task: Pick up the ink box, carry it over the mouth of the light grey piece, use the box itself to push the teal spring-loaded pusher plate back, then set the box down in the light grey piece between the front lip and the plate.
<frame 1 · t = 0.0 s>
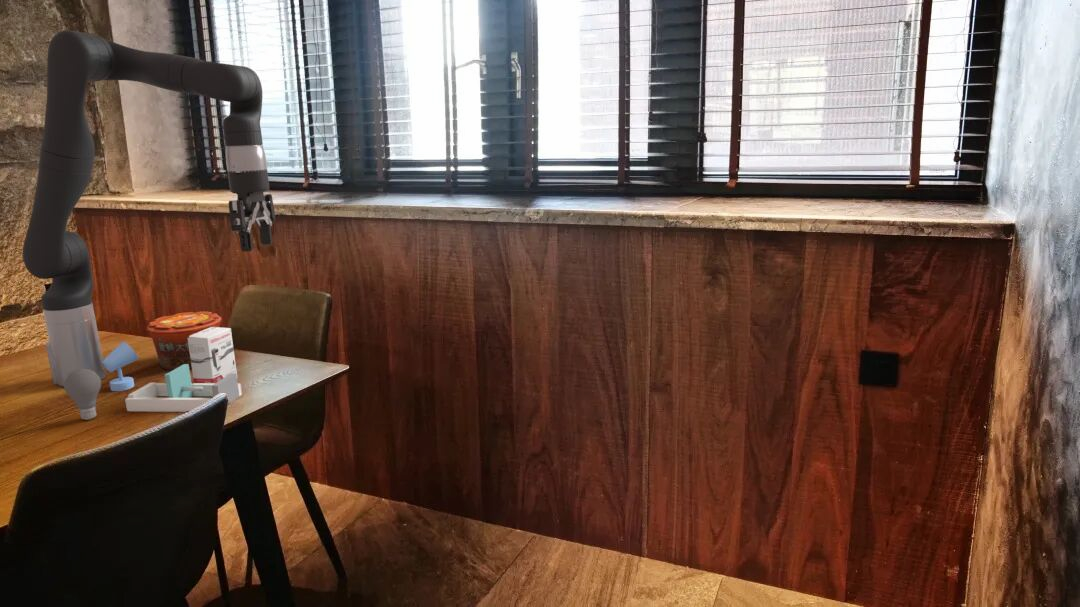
hand: (257, 247, 152), 29 cm above the table, fingers open, 8 cm apart
food container: (191, 363, 174), on the table
light bulb: (89, 419, 141), on the table
pusher: (189, 385, 146), point 4 cm above the table, slide at 0.0 cm
ink box: (217, 385, 158), on the table
light grey piece: (185, 402, 147), on the table
spotlight: (125, 387, 158), on the table
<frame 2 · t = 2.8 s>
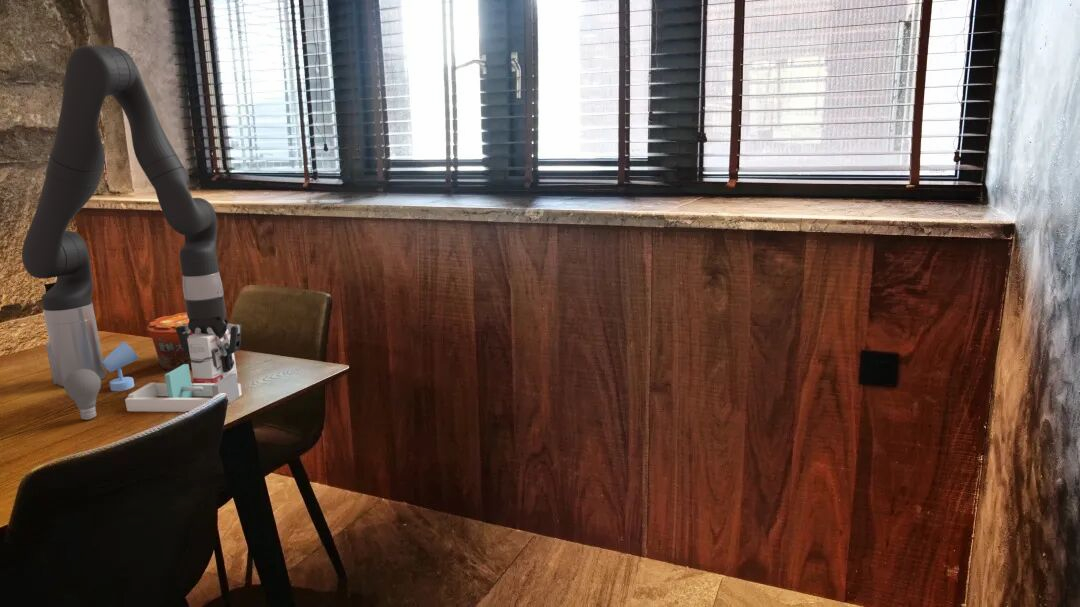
hand: (215, 370, 157), 3 cm above the table, fingers closed on ink box, 5 cm apart
ink box: (217, 384, 158), on the table, touching gripper
everything else where it was.
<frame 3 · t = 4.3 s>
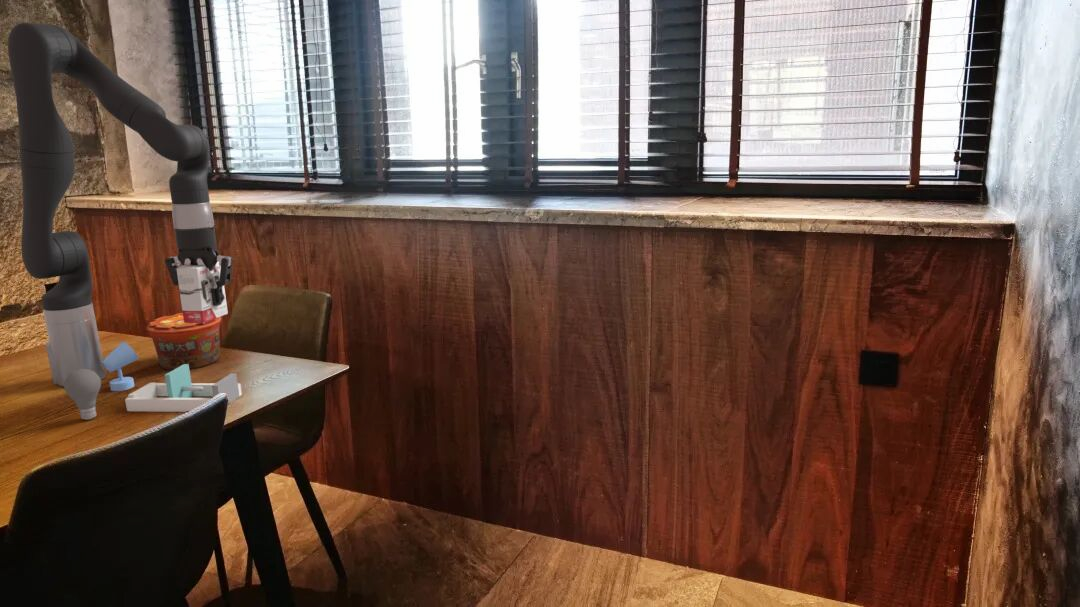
hand: (205, 304, 154), 18 cm above the table, fingers closed on ink box, 5 cm apart
ink box: (206, 319, 155), point 14 cm above the table, touching gripper
everything else where it was.
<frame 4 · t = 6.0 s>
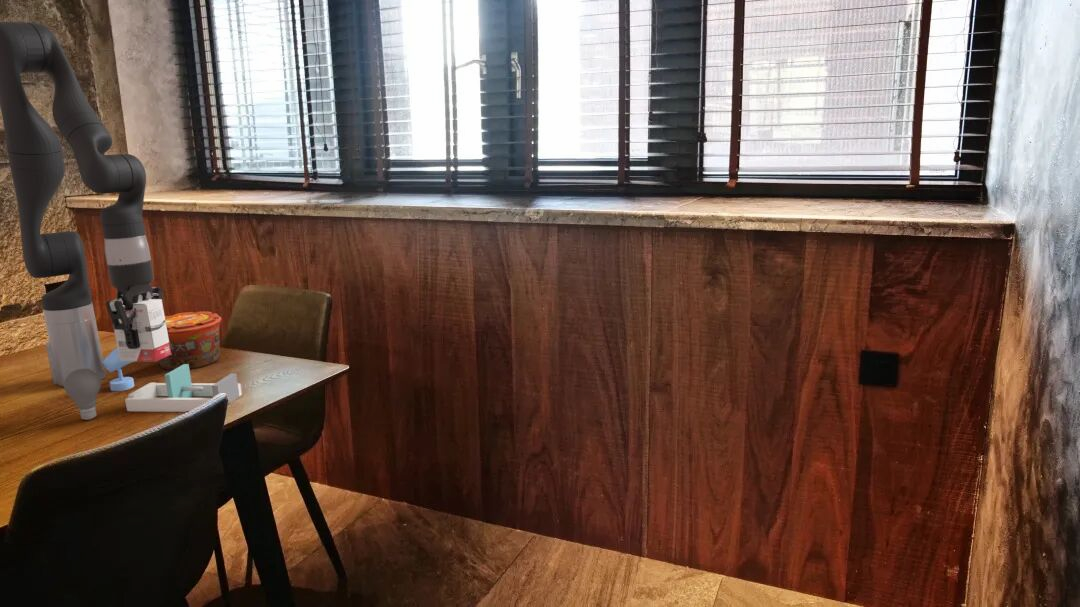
hand: (143, 343, 145), 13 cm above the table, fingers closed on ink box, 5 cm apart
ink box: (146, 359, 146), point 9 cm above the table, touching gripper
everything else where it was.
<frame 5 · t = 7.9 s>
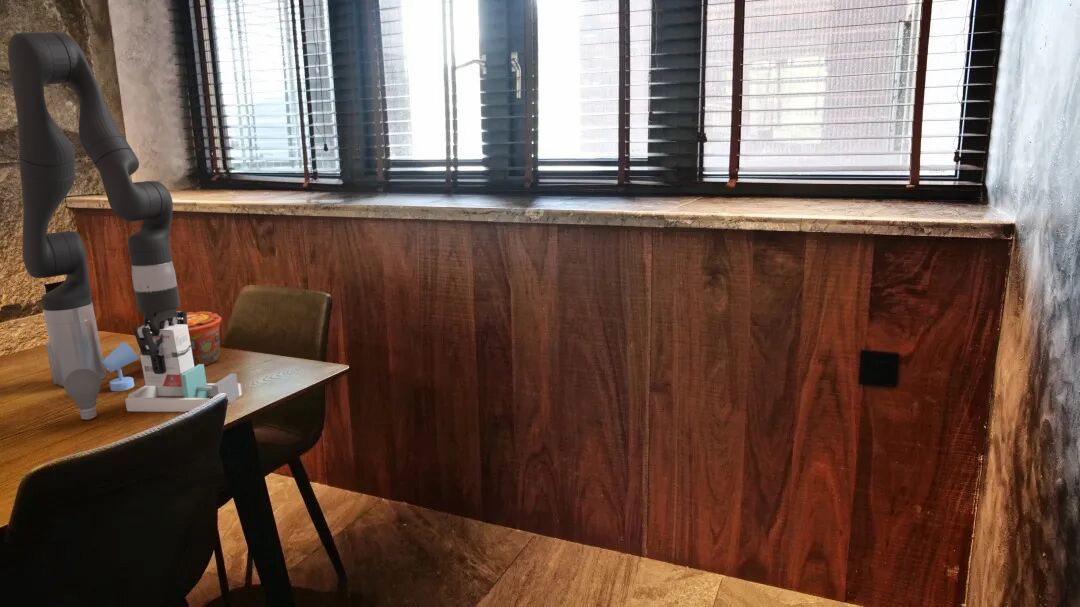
hand: (168, 368, 146), 7 cm above the table, fingers closed on ink box, 5 cm apart
pusher: (204, 385, 146), point 4 cm above the table, slide at 3.3 cm
ink box: (171, 383, 147), point 4 cm above the table, touching gripper
everything else where it was.
when the fingers open (4 cm above the table, at t = 9.2 s): ink box drops 1 cm, resting in light grey piece.
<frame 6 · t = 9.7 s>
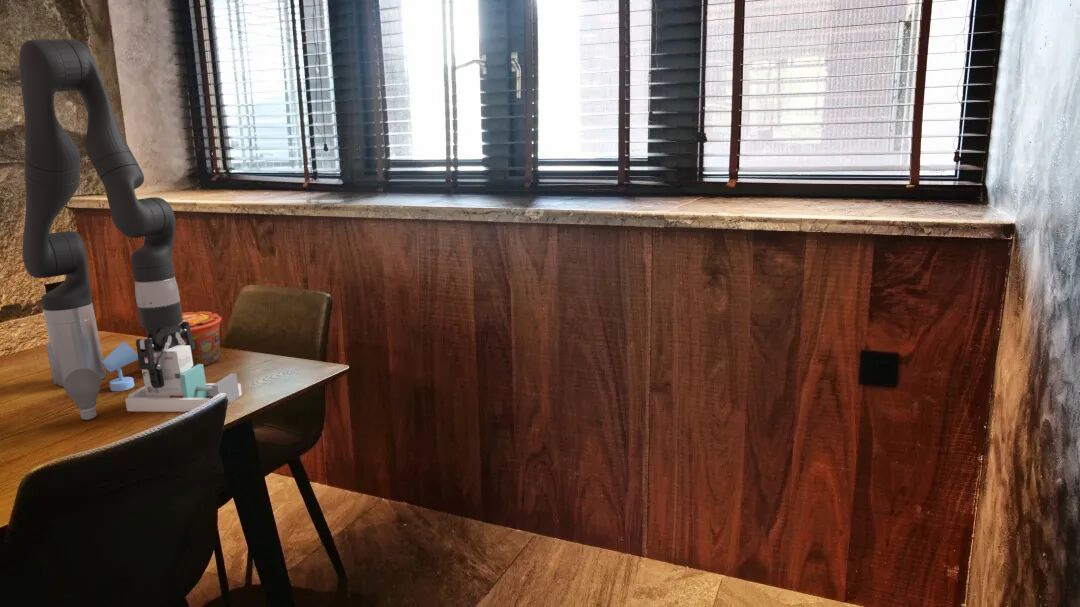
hand: (171, 379, 146), 5 cm above the table, fingers open, 8 cm apart
ink box: (174, 404, 148), resting in light grey piece
everything else where it was.
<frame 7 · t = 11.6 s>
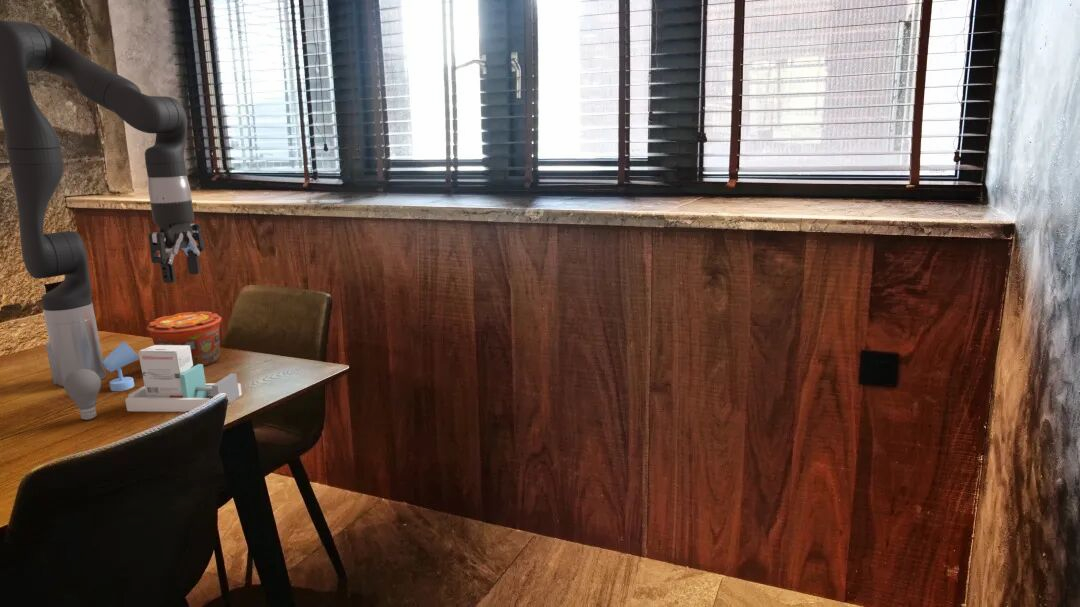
hand: (182, 278, 151), 24 cm above the table, fingers open, 8 cm apart
nothing on the table moved.
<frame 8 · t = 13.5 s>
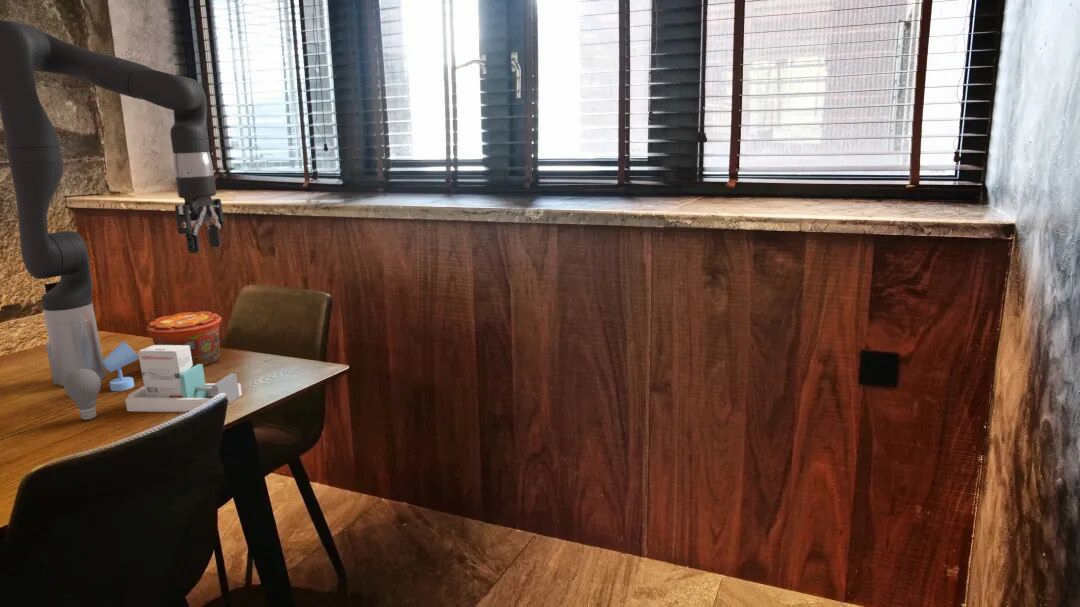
hand: (205, 249, 159), 28 cm above the table, fingers open, 8 cm apart
nothing on the table moved.
at the end: ink box 0.7 cm from the target spot on the light grey piece, point 0.0 cm above the light grey piece's base; ink box tilted 0°; pusher slide at 3.0 cm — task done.
